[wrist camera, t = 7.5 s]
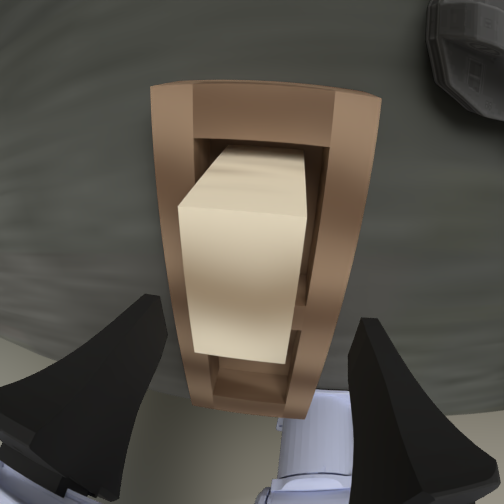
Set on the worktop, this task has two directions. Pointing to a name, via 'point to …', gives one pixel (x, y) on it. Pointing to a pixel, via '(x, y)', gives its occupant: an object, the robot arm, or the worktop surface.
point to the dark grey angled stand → (468, 52)
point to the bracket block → (244, 251)
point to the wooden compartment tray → (317, 226)
